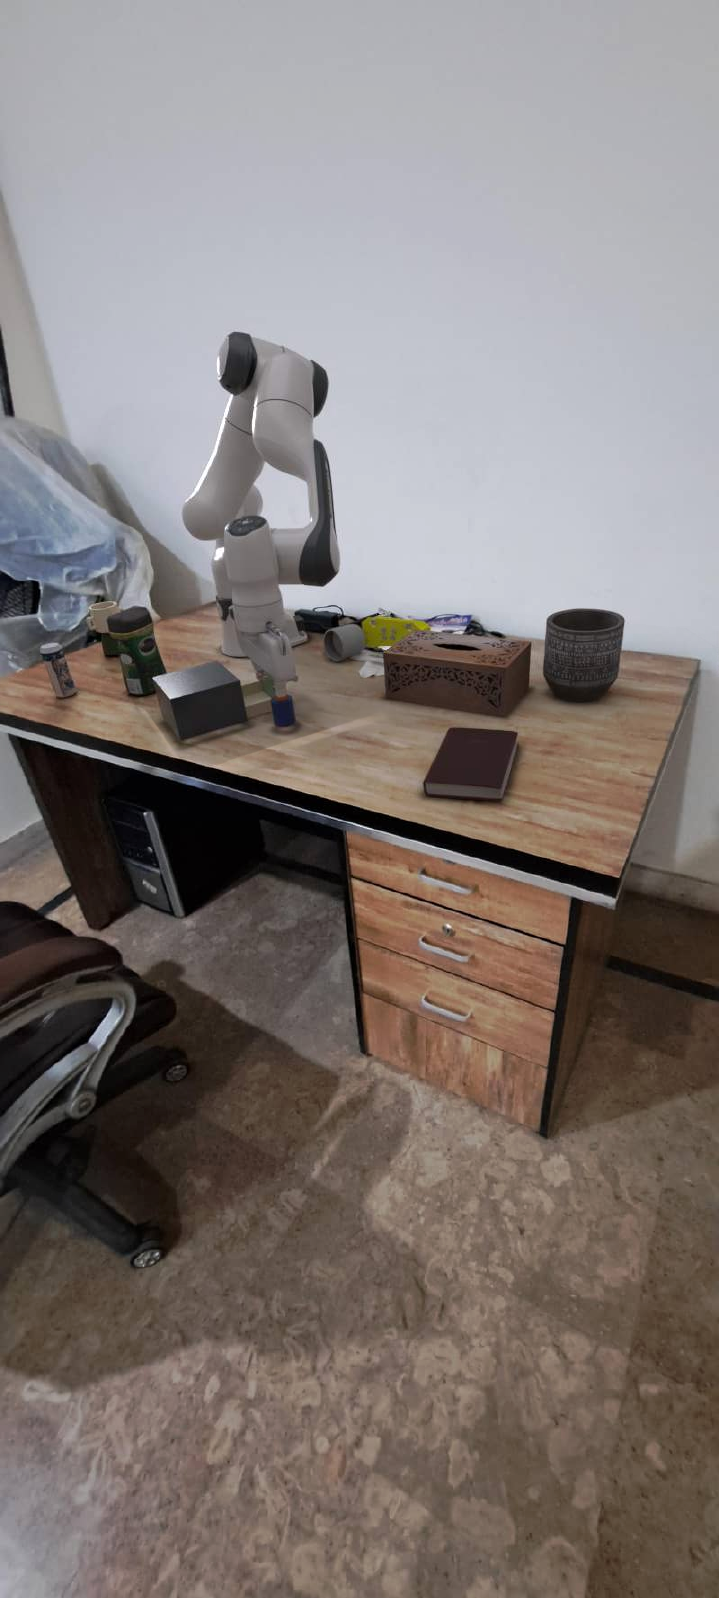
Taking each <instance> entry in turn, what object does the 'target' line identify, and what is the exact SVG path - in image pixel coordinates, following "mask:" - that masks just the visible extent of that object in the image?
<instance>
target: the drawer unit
mask: <svg viewBox="0 0 719 1598" xmlns="http://www.w3.org/2000/svg"><path fill="white" fill-rule="evenodd" d="M152 679H153V683H154V687H155V694H156V698H157V702H158V705H159V710H160V713H161V717H162V718H163V720H164V721H165V722H166V724H167V725H168V726H169V728H170V729H171V730H172V732H173V733H174V734H175V736H176V737H177V738H178V739H179V741H180V742H182V741H185V740H186V741H187V740H189V739H193V738H195V737H198V736H202V735H205V734H208V733H213V732H215V731H219V730H222V729H226V728H229V727H232V726H236V725H239V724H242V723H245V722H248V721H249V720H248V719H249V718H247V714H246V709H245V703H244V698H243V693H242V688H241V685H242V683H241V680H240V679H239V678H238V677H237V676H236V675H235V674H234V673H232V672H231V671H230V670H229V669H227V667H225V666H224V665H223V664H222V663H221V662H220V661H219V660H214V661H209V662H206V663H203V664H199V665H195V666H191V667H187V668H183V669H179V670H175V671H172V672H167V674H164V675H160V676H156V677H152Z"/></svg>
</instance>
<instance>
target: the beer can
mask: <svg viewBox="0 0 719 1598" xmlns="http://www.w3.org/2000/svg"><path fill="white" fill-rule="evenodd" d="M39 653H40V655H41V657H42V660H43V664H44V666H45V669H46V672H47V675H48V677H49V681H50V683H51V687H52V689H53V692H54V695H55V697H58V698H68V697H71V696H73V695H74V694H75V693H76V692H77V689H76V686H75V682H74V680H73V676H72V673H71V670H70V667H69V665H68V661H67V658H66V656H65V653H64V650H63V646H62V645H61V644H60V643H59V642H58V641H57V642H55V641H54V642H48V643H43V644H42V645H41V646H40V650H39Z"/></svg>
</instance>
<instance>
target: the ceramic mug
mask: <svg viewBox="0 0 719 1598" xmlns="http://www.w3.org/2000/svg"><path fill="white" fill-rule="evenodd" d="M344 625H345V624H344ZM340 626H341V627H338V626H336V627H337V628H333V627H332V628H333V629H329V630H325V633H324V636H323V640H322V641H323V649H324V652H325V653H326V655H327V656H328V658H329V659H330V660H331V661H334V662H340V661H343V660H346V659H348V658H351V657H353V656H356V655H358V654H360V653H361V652H363V651H364V650H365V648H366V647H365V646H366V636H365V633H364V631H363V629H362V627H361V626H360V625H359V624H349V625H345V626H342V625H340Z"/></svg>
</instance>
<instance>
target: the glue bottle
mask: <svg viewBox="0 0 719 1598" xmlns="http://www.w3.org/2000/svg"><path fill="white" fill-rule="evenodd" d="M270 701H271V706H272V711H271V713H272V719H273V724H274V725H275V727H280V728H285V727H290V726H292V725H294V724H295V723H296V721H297V720H296V714H295V706H294V700H293V696H292V695H290V694H288V693H287V694H286V695H285V696H284V697H280V698H278V697H277V696H276V695H275V696H274V697H272V698H271V700H270Z"/></svg>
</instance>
